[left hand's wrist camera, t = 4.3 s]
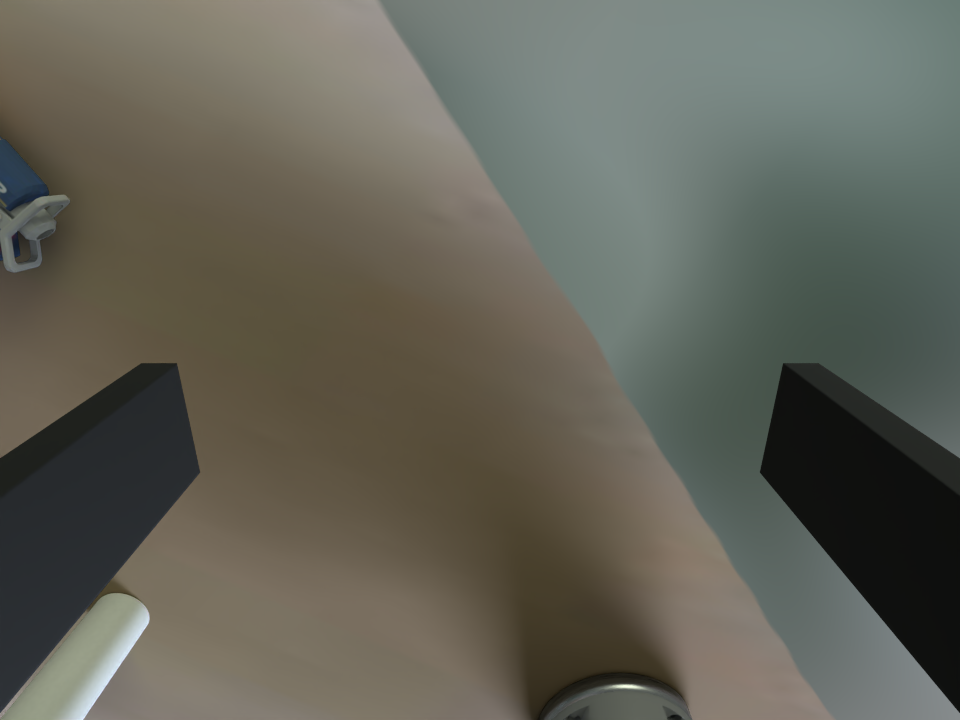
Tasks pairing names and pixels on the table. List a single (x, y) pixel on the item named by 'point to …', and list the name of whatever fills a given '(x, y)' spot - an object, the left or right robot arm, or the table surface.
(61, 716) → the bottle
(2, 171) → the spray gun
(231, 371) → the table surface
